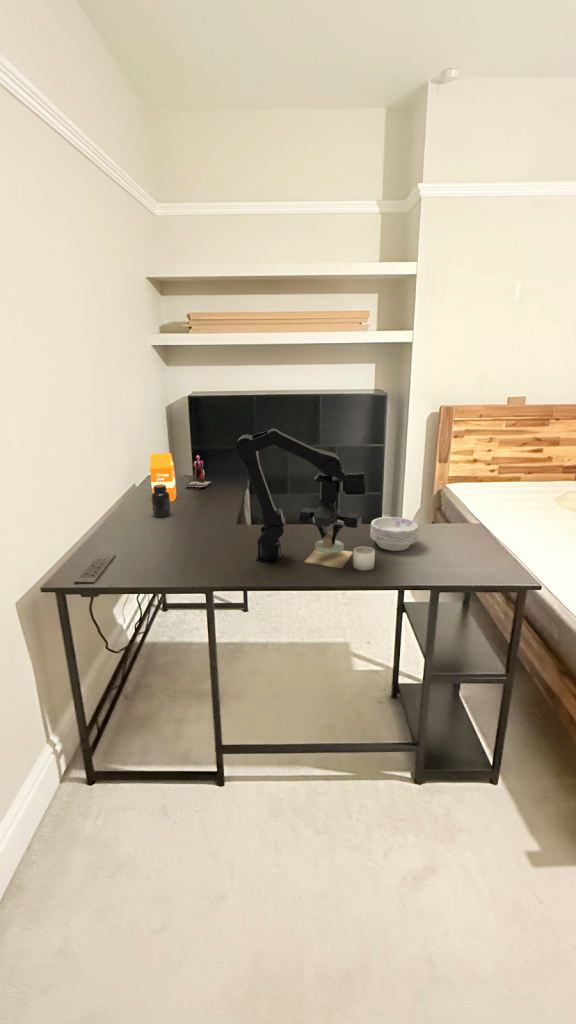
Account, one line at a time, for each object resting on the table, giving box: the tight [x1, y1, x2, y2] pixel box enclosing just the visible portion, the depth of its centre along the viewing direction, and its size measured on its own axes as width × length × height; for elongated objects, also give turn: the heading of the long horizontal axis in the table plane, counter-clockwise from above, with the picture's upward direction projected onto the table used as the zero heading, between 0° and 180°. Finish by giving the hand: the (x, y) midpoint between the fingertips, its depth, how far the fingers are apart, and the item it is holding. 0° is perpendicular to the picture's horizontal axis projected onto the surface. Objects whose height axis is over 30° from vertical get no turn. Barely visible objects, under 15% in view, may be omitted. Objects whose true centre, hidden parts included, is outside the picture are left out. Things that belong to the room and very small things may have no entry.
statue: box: [185, 455, 211, 490], centre depth 244 cm, size 11×9×15 cm
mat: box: [304, 548, 353, 569], centre depth 164 cm, size 12×12×1 cm
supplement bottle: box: [151, 484, 172, 519], centre depth 205 cm, size 7×7×12 cm
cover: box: [314, 531, 345, 553], centre depth 163 cm, size 9×9×4 cm
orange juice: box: [149, 452, 177, 502], centre depth 224 cm, size 8×9×20 cm
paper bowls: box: [369, 516, 419, 552], centre depth 172 cm, size 15×15×8 cm
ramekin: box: [352, 545, 376, 571], centre depth 158 cm, size 6×6×5 cm
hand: (329, 543), depth 163 cm, fingers closed on cover, 2 cm apart
